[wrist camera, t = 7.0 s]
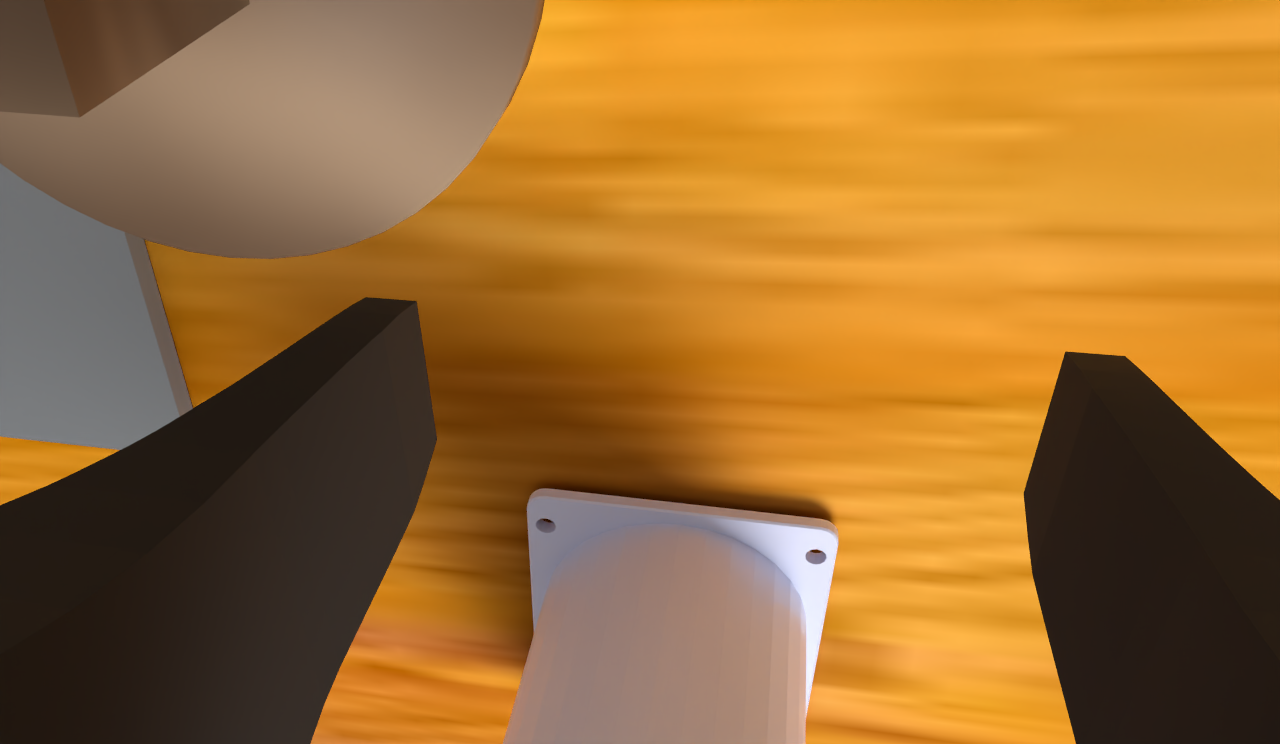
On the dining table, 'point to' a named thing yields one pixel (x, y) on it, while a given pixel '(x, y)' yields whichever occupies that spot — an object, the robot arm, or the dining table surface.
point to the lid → (254, 112)
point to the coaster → (80, 328)
